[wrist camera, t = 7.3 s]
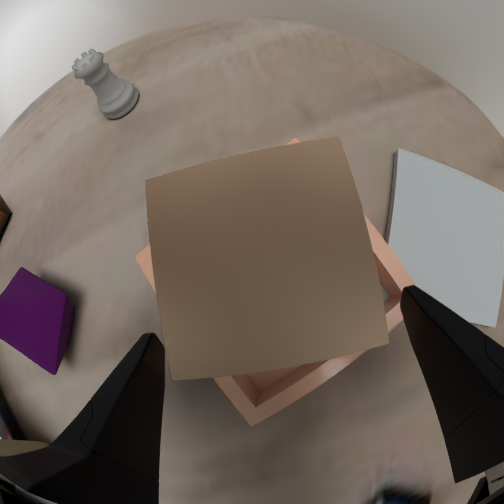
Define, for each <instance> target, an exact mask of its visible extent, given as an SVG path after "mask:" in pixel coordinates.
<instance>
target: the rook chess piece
mask: <svg viewBox="0 0 504 504" xmlns="http://www.w3.org/2000/svg"><path fill="white" fill-rule="evenodd" d="M88 52H89V54H87V53H86V52H84V53H83V54H82V55H81V56H82V57H83V58H82V59H81V60H79V59H76V60H75V62H74V63H75V64H76V65H75V64H74V65H73V66H72V69H73V70H74V71H75V78H78V79H84V80H85V84H86V85H89V86H90V87H91V88H92V89H93V91H94V92H95V94H96V96H97V99H98V104H99V109H100V111H101V112H102V113H104V116H105V117H107V118H111V119H114V118H119V117H122V116H124V115H125V114H127V113H128V112H129V111H130V110H131V109H132V108H133V107H134V106H135V104H136V102H137V98H138V94H139V92H138V89H137V88H136V87H134V85H133V84H132V83H131V82H129V81H127V80H123V79H119V78H118V77H117V76H116V75H114V74H113V73H112V72H111V71H110V69H109V65H108V64H107V63H103V53H101V52H96V51H95V50H93V49H90V50H89V51H88Z"/></svg>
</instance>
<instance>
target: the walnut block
mask: <svg viewBox="0 0 504 504" xmlns="http://www.w3.org/2000/svg"><path fill="white" fill-rule="evenodd" d="M145 182H146V202H147V216H148V229H149V240H150V249H151V259H152V267H153V275H154V282H155V290H156V296H157V303H158V309H159V315H160V321H161V327H162V332H163V338H164V343H165V348H166V353H167V358H168V363H169V367H170V372H171V376H172V380H173V381H174V380H191V379H204V378H215V377H225V376H234V375H242V374H250V373H257V372H264V371H270V370H276V369H282V368H288V367H294V366H299V365H304V364H309V363H314V362H319V361H324V360H328V359H333V358H337V357H341V356H345V355H349V354H353V353H357V352H361V351H365V350H369V349H372V348H376V347H379V346H383V345H386V344H390V343H389V335H388V328H387V321H386V315H385V309H384V303H383V297H382V292H381V286H380V281H379V276H378V271H377V267H376V262H375V257H374V253H373V249H372V245H371V240H370V236H369V232H368V228H367V225H366V221H365V217H364V214H363V210H362V206H361V203H360V199H359V196H358V193H357V189H356V186H355V183H354V180H353V177H352V173H351V170H350V167H349V164H348V161H347V158H346V156H345V153H344V150H343V147H342V144H341V142H340V139H339V137H332V138H325V139H318V140H312V141H306V142H300V143H294V144H289V145H283V146H278V147H273V148H268V149H263V150H258V151H254V152H249V153H245V154H240V155H236V156H231V157H227V158H223V159H219V160H215V161H211V162H207V163H204V164H200V165H196V166H192V167H189V168H185V169H182V170H178V171H175V172H171V173H168V174H165V175H161V176H158V177H155V178H152V179H149V180H146V181H145Z"/></svg>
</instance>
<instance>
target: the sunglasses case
mask: <svg viewBox="0 0 504 504" xmlns="http://www.w3.org/2000/svg"><path fill="white" fill-rule="evenodd" d="M11 213H12V212H11V211H10V209H9V208H8V206H7V205H6V203H5V201H4V200H3V198H2V197H1V195H0V234H1V232H2V229H3V227H4V225H5V223H6V221H7V219H8V216H9V215H10V214H11Z"/></svg>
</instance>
